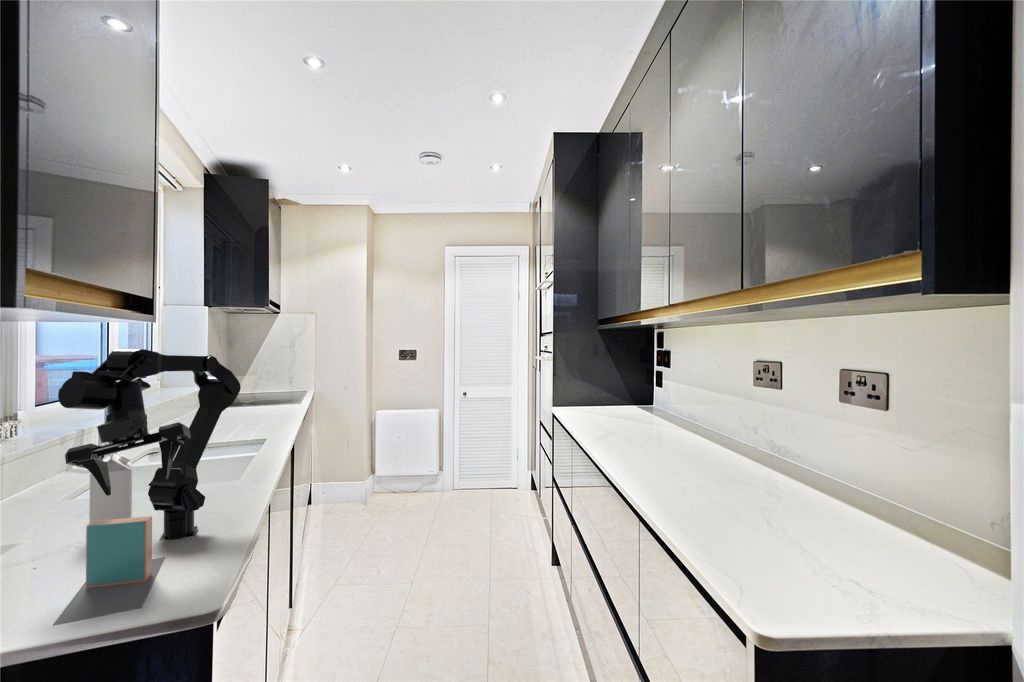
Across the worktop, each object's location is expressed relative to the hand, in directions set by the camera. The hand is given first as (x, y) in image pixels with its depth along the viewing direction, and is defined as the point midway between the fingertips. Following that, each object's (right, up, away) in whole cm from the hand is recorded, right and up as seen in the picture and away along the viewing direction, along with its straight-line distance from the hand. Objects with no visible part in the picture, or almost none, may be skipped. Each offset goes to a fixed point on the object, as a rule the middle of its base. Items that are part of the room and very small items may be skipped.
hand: (137, 487), depth 93 cm
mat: (+2, -16, -7) cm, 18 cm away
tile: (+1, -16, -5) cm, 16 cm away
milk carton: (-20, -16, +18) cm, 31 cm away
